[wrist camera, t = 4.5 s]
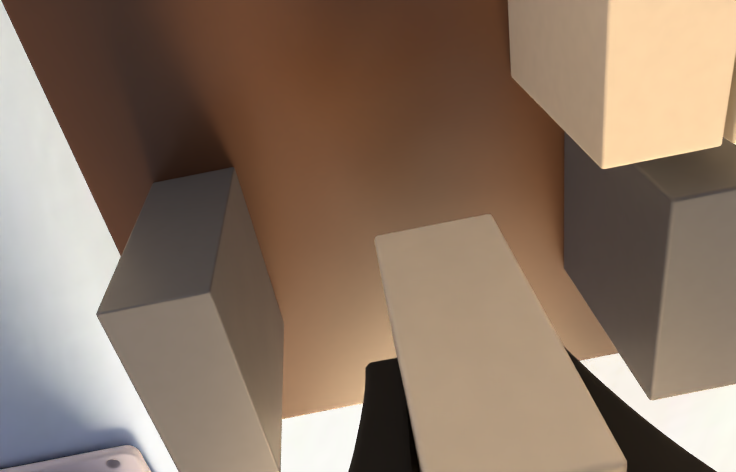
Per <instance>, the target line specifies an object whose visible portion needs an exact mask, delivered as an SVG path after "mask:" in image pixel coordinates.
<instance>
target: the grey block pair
mask: <svg viewBox="0 0 736 472" xmlns="http://www.w3.org/2000/svg"><path fill="white" fill-rule="evenodd" d="M564 269H565V271H566V272H567V274H568V275H569V277H570V279H571V280H572V282H573V283H574V285H575V286H576V288H577V289H578V291H579V292H580V294H581V295H582V297H583V298H584V300H585V302H586V303H587V305H588V306H589V308H590V309H591V311H592V312H593V314H594V315H595V317H596V318H597V320H598V321H599V323H600V325H601V326H602V328H603V329H604V331H605V332H606V334H607V335H608V337H609V338H610V340H611V341H612V343H613V344H614V346H615V348H616V349H617V351H618V352H619V354H620V355H621V357H622V358H623V360H624V361H625V363H626V364H627V366H628V367H629V369H630V371H631V372H632V374H633V375H634V377H635V378H636V380H637V381H638V383H639V384H640V386H641V387H642V389H643V390H644V392H645V394H646V395H647V397H648V398H649V399H650V400H656V399H662V398H667V397H672V396H677V395H682V394H687V393H692V392H697V391H702V390H707V389H712V388H718V387H723V386H728V385H733V384H736V145H735V144H733V143H732V142H730V141H729V140H727V139H726V138H724V137H723V139H722V144H721V146H718V147H713V148H708V149H703V150H698V151H693V152H688V153H683V154H678V155H673V156H668V157H662V158H657V159H652V160H647V161H642V162H637V163H632V164H627V165H622V166H617V167H612V168H607V169H602V168H600V167H599V165H598V164H597V163H596V162H595V161H594V160H593V159H592V158H591V157H590V156H589V155H588V154H587V153H586V152H585V151H584V150H583V149H582V148H581V147H580V146H579V145H578V144H577V143H576V142H575V141H574V140H573V139H572V138H571V137H570V136H569V135H568V134H567V133H566V132H565V144H564ZM96 315H97V317H98V319H99V321H100V323H101V325H102V327H103V328H104V330H105V332H106V334H107V336H108V338H109V340H110V342H111V344H112V346H113V347H114V349H115V351H116V353H117V355H118V357H119V359H120V361H121V363H122V365H123V366H124V368H125V370H126V372H127V374H128V376H129V378H130V380H131V382H132V384H133V385H134V387H135V389H136V391H137V393H138V395H139V397H140V399H141V401H142V403H143V404H144V406H145V408H146V410H147V412H148V414H149V416H150V418H151V420H152V422H153V423H154V425H155V427H156V429H157V431H158V433H159V435H160V437H161V439H162V441H163V442H164V444H165V446H166V448H167V450H168V452H169V454H170V456H171V458H172V460H173V461H174V463H175V465H176V467H177V469H178V471H179V472H281V430H282V388H283V345H284V322H283V319H282V316H281V313H280V310H279V306H278V303H277V300H276V297H275V294H274V291H273V287H272V284H271V281H270V278H269V275H268V272H267V268H266V265H265V262H264V259H263V256H262V253H261V250H260V246H259V243H258V240H257V237H256V234H255V231H254V227H253V224H252V221H251V218H250V215H249V212H248V208H247V205H246V202H245V199H244V196H243V193H242V189H241V186H240V183H239V180H238V177H237V174H236V171H235V168H234V167H231V168H226V169H221V170H216V171H211V172H206V173H200V174H195V175H190V176H185V177H180V178H175V179H170V180H165V181H160V182H155V183H153V184H152V186H151V189H150V191H149V193H148V196H147V198H146V200H145V203H144V205H143V207H142V209H141V212H140V214H139V216H138V219H137V221H136V223H135V226H134V228H133V230H132V232H131V235H130V237H129V239H128V242H127V244H126V246H125V249H124V251H123V253H122V255H121V258H120V260H119V262H118V265H117V267H116V269H115V272H114V274H113V276H112V278H111V281H110V283H109V285H108V288H107V290H106V292H105V295H104V297H103V299H102V302H101V304H100V306H99V308H98V311H97V313H96Z"/></svg>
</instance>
